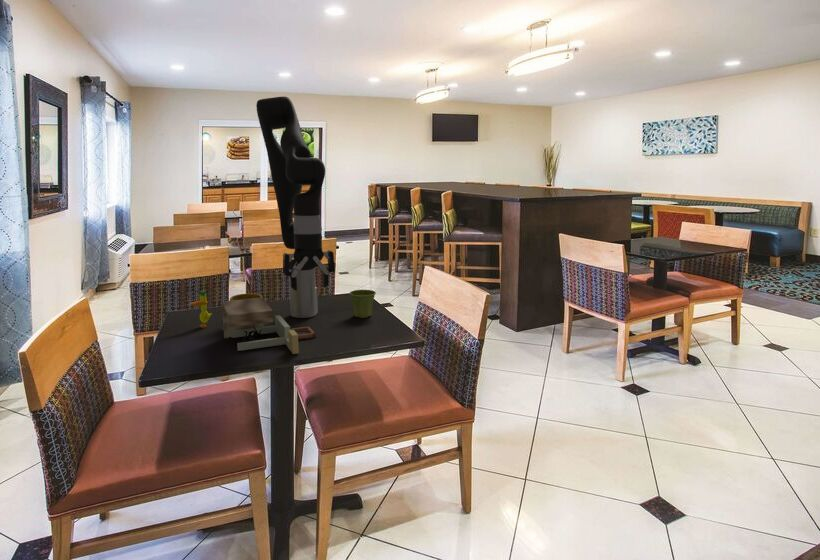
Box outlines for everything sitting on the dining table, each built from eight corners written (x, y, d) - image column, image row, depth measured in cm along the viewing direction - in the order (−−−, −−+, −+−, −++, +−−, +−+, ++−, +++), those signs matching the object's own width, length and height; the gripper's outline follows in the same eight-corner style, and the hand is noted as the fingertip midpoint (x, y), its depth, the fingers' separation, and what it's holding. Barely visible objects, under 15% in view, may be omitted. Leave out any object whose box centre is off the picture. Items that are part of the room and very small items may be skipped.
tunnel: (263, 332, 161) (261, 297, 158) (274, 348, 145) (272, 310, 143) (224, 337, 155) (221, 301, 153) (231, 354, 140) (228, 315, 138)
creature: (241, 353, 145) (267, 342, 149) (236, 337, 143) (262, 326, 147) (232, 346, 151) (257, 336, 155) (227, 330, 149) (252, 320, 153)
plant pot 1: (259, 329, 164) (258, 300, 162) (227, 329, 163) (225, 300, 161) (266, 320, 174) (265, 293, 172) (236, 320, 173) (234, 293, 171)
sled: (280, 330, 161) (279, 314, 160) (298, 353, 141) (297, 334, 140) (231, 336, 155) (230, 319, 154) (243, 361, 134) (241, 342, 133)
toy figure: (193, 329, 163) (190, 294, 160) (190, 327, 165) (187, 292, 163) (214, 326, 167) (212, 291, 164) (211, 323, 169) (209, 289, 167)
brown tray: (308, 330, 162) (308, 326, 162) (315, 337, 156) (315, 333, 155) (287, 333, 159) (287, 329, 159) (293, 340, 152) (293, 336, 152)
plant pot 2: (378, 318, 177) (377, 294, 175) (351, 320, 175) (351, 296, 173) (373, 311, 186) (373, 289, 184) (348, 313, 184) (347, 290, 182)
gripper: (328, 229, 144) (330, 283, 148) (279, 231, 138) (281, 288, 142) (336, 231, 138) (338, 288, 141) (284, 234, 132) (287, 293, 135)
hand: (309, 288), depth 141 cm, fingers open, 8 cm apart
